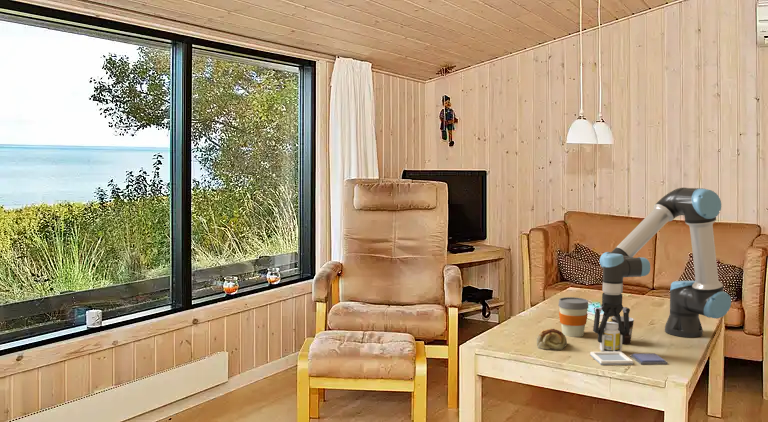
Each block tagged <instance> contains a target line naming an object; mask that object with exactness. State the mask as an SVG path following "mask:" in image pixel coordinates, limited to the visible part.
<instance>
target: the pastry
mask: <svg viewBox="0 0 768 422" xmlns="http://www.w3.org/2000/svg"><path fill="white" fill-rule="evenodd" d="M566 337H567V336H565V335H564V334H563V333H562V330H561V331H560V330H558V329H555V328H547V329H542V331H539V334H538V335H537V337H536V344H537V348H538V349H540V350H544V351H545V350H546V351H559V350H560V351H561V350H563V349H565V347H566V346H567V345H568V341H567V338H566Z"/></svg>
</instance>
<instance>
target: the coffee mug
mask: <svg viewBox="0 0 768 422" xmlns="http://www.w3.org/2000/svg"><path fill="white" fill-rule="evenodd" d="M620 317H621V321H622V324H623V328H624V316H623V315H622V316H621V315H620ZM634 321H635V320H634V318H633V317H630V316H629V328H630V332H629V333H626V335H625V338H624V342H622V345H630V344H631V341H632V340H631V339H632V334H633V329H634V328H633V327H634V323H635V322H634ZM611 322H616V323H617V321H616V318H615V317H614V316H612V317H611ZM618 330H619V328H618Z"/></svg>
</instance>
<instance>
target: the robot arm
mask: <svg viewBox="0 0 768 422" xmlns="http://www.w3.org/2000/svg"><path fill="white" fill-rule="evenodd" d="M721 210H722V200H721V198H720V196H719V195H718V193H717V192H715V191H714V190H711V189H707V188H703V187H702V188H700V187H697V188H696V187H679V188H676V189H673V190H672V191H669V192H668V193H667V194H665V195H664V196H663V197H661V198H660V199H659V200H658V201H657V202H656V203H655V204H654V205H653V209H652V211H650V212H649V213H648V214H647V215H646V217H644V219H642V220H641V222H640V223H639V224H637V226H636V227H634V228H633V229H632V231H631V232H630V233H628V234H627V235H626V237H624V239H623V240H621V242H620V243H619V244H618V245H617V246H615V248H614V249H612V250H611V251H605V252H603V253H602V254H600V255H601V256H600V257H599V265H600V266H601V268H602V290H601V291H602V292H603V293H602V294H601V295H602V297H601V305H600V306H599V307H594V308H593V310H594V317H593V318H594V319H593V320H594V321H593V329H592V331H593V332H594V333H595V334H597V342H598V343H599V351H600V352H604V337H605V335H604V334H603V331H604V329H605V326H606V323H607V322H609V321H608V320H609V319H610V318H612V317H615V318H616V321H617V323H618V324H619V331H620V346H619V352H623V344H622V342H624V338H625V335H626V333H629V332H630V328H629V317H630V311H631V309H630V308H629V307H628V306H625V307H624V306H623V294H622V293H623V291H624V290H623V287H624V284H623V283H624V278H637V277H639V278H641V277H646V276H648V275H649V274H650V271H651V263H650V261H649V260H648V258H646V257H639V256H638V257H634V256H636V254H637V253H638V252H639V251H640V250H642V248H643V247H644V246H645V245H646V244H647V243H648V242H649V241H650V240H651V239H652V238H653V237H654V236H655V235H657V233H658V232H659V231H660V230H661V229H662V228H663V227H665V225H666V224H667V223H668V222H673V220H674V219H676V218H677V217H679V216H684V217H683V218H684V223H685V225H687V226H689V233H690V242H691V251H692V253H691V254H692V261H693V271H694V280H675V281H672V282H671V283H670V289H669V292H670V293H669V316H668V317H667V320H666V323H665V326H664V332H665V334H668V335H670V336H676V337H682V338H699V337H702V336H703V335H704V334H703V331H704V330H703V326H702V323H701V320H700V316H703V317H706V318H709V319H710V318H712V319H720V318H723V317H724V316H726V315H727V314H728V312H729V311H730V308H731V305H732V299H731V296H730V294H728V293H727V292H726V291H724V283H722V282H721V281H720V280H719V274H718V273H719V272H718V264H717V254H716V253H717V252H716V245H715V236H714V235H715V234H714V227H713V226H714V223H716V221H717V216H719V215H720V213H721V212H720V211H721ZM602 312H603V314H602V319H601V313H602ZM621 312H623V315H622V316H624V328H623V324H622V321H621V317H620V316H621Z"/></svg>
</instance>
